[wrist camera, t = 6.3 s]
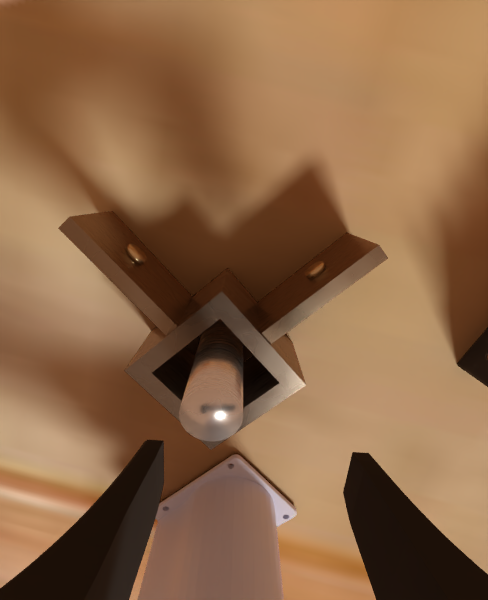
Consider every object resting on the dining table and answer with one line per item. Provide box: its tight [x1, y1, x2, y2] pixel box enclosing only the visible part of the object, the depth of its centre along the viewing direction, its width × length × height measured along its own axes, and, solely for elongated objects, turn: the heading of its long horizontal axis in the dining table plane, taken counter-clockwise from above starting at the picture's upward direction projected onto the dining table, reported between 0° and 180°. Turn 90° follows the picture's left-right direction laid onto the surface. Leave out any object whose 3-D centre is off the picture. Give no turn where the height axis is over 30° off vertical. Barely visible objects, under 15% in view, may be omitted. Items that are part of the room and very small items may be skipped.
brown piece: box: [58, 211, 388, 449], centre depth 17 cm, size 14×14×5 cm
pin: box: [179, 319, 243, 441], centre depth 17 cm, size 3×3×8 cm
